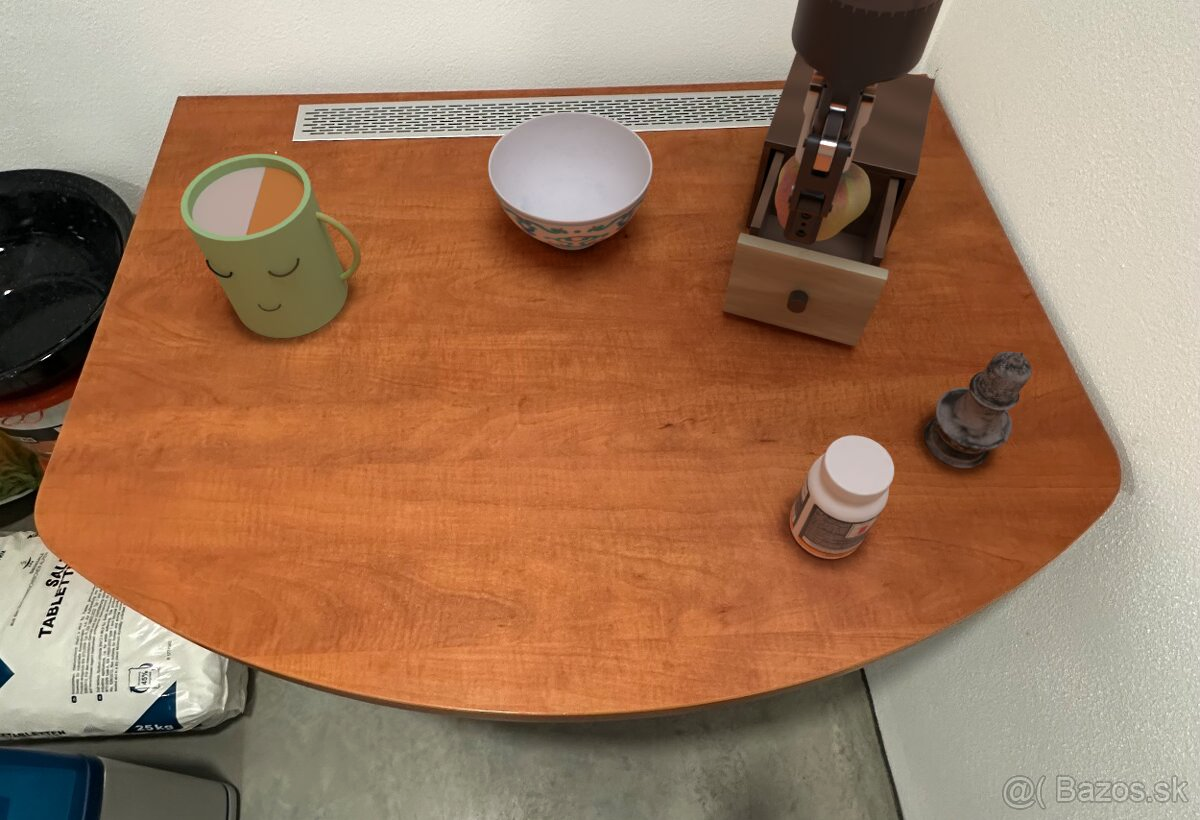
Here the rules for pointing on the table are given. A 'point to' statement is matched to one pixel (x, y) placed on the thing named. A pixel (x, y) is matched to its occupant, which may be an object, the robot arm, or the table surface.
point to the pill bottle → (842, 497)
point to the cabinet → (882, 141)
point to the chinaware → (570, 177)
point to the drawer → (812, 267)
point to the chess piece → (978, 412)
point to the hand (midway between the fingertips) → (807, 206)
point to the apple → (846, 201)
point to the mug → (269, 243)
